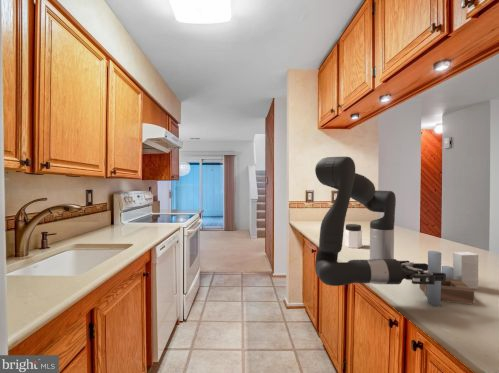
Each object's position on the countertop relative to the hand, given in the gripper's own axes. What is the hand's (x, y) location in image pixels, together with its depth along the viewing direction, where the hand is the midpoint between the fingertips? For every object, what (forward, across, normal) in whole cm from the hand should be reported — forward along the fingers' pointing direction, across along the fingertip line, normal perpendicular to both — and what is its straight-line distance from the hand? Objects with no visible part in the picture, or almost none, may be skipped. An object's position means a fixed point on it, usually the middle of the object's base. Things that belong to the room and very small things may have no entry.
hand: (435, 271), depth 84 cm
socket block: (+7, +6, +10) cm, 14 cm away
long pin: (0, 0, +10) cm, 10 cm away
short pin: (+12, +13, +10) cm, 21 cm away
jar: (-2, +70, +10) cm, 70 cm away
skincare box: (+19, +14, +10) cm, 25 cm away
